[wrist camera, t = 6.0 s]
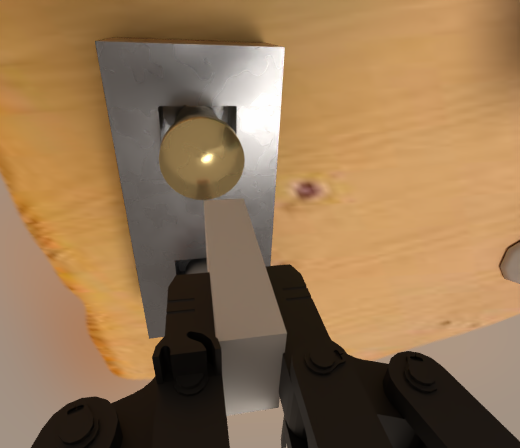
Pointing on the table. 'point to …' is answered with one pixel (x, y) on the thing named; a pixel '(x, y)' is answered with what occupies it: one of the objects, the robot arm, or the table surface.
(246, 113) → the block
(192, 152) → the brass plunger
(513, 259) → the flask
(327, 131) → the table surface
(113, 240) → the table surface
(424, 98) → the table surface
